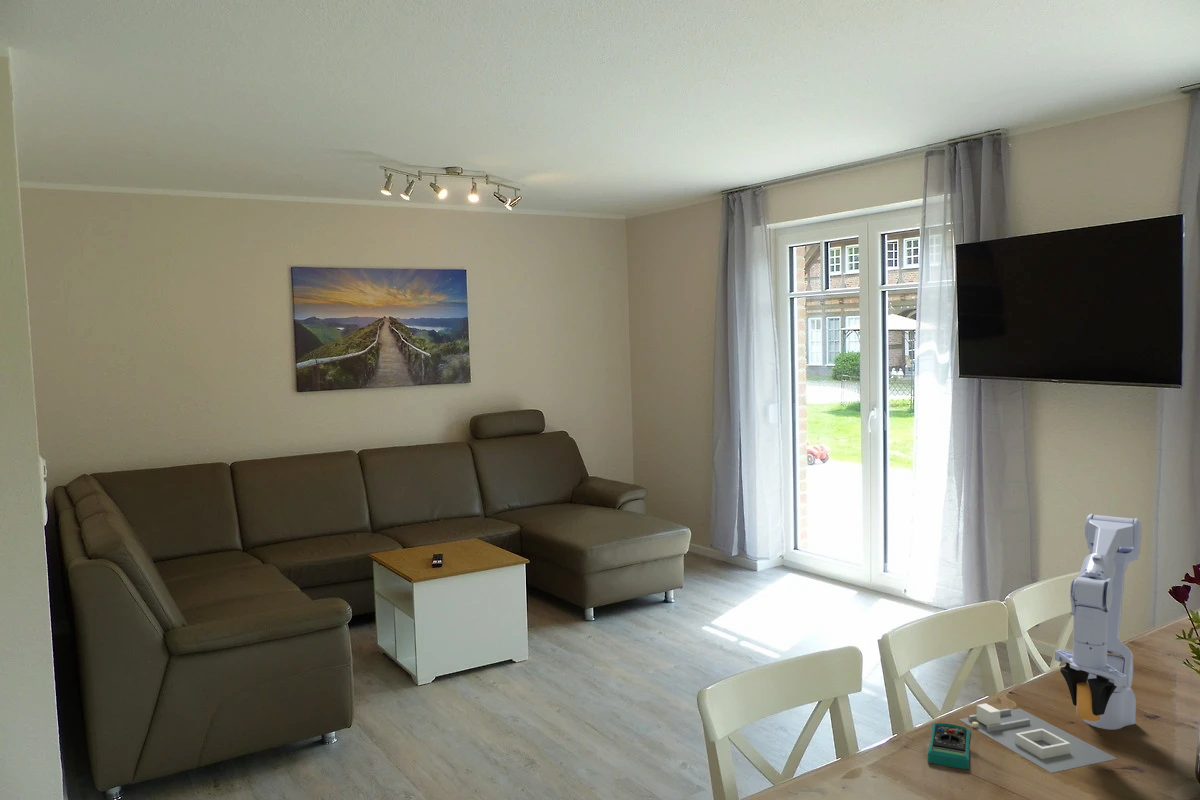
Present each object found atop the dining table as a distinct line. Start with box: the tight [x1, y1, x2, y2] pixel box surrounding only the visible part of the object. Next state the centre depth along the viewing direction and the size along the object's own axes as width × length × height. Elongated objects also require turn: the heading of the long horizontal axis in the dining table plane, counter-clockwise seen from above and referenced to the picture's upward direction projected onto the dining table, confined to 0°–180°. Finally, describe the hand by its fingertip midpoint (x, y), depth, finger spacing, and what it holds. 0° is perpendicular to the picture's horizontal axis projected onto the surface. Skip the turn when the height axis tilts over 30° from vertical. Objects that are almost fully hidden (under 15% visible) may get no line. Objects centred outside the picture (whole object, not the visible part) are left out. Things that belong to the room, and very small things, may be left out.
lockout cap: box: [1075, 682, 1100, 721], centre depth 165 cm, size 4×4×6 cm
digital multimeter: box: [927, 722, 972, 770], centre depth 170 cm, size 7×15×3 cm, turn 155°
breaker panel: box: [958, 707, 1118, 774], centre depth 172 cm, size 16×24×3 cm, turn 18°
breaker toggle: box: [976, 702, 1000, 726], centre depth 178 cm, size 2×4×3 cm, turn 18°
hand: (1088, 709), depth 166 cm, fingers closed on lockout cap, 4 cm apart
